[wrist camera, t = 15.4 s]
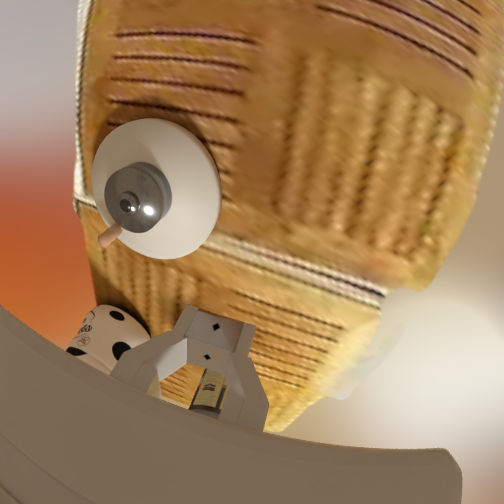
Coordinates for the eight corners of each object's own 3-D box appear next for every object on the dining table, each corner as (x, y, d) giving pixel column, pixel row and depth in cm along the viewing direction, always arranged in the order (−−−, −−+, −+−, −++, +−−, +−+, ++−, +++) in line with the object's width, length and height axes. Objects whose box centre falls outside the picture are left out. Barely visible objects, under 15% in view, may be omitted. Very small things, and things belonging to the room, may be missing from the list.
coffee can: (232, 383, 62) (215, 434, 51) (199, 360, 60) (176, 412, 48) (263, 373, 57) (249, 430, 46) (229, 347, 55) (207, 406, 43)
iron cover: (140, 148, 33) (119, 157, 30) (184, 196, 36) (168, 211, 32) (109, 189, 38) (90, 201, 34) (148, 232, 40) (132, 248, 37)
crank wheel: (149, 86, 30) (122, 89, 26) (254, 202, 36) (242, 222, 31) (82, 184, 41) (58, 198, 36) (162, 272, 47) (145, 295, 42)
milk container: (88, 289, 57) (42, 343, 42) (151, 310, 54) (107, 378, 39) (106, 338, 66) (72, 388, 51) (163, 359, 64) (131, 418, 49)
